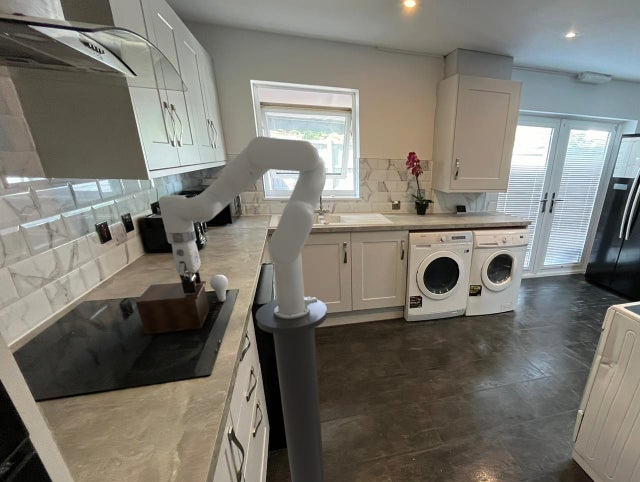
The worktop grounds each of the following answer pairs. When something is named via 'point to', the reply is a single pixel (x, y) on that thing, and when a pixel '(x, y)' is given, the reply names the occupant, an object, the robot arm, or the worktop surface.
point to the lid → (169, 292)
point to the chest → (174, 315)
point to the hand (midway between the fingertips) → (192, 287)
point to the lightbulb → (219, 286)
